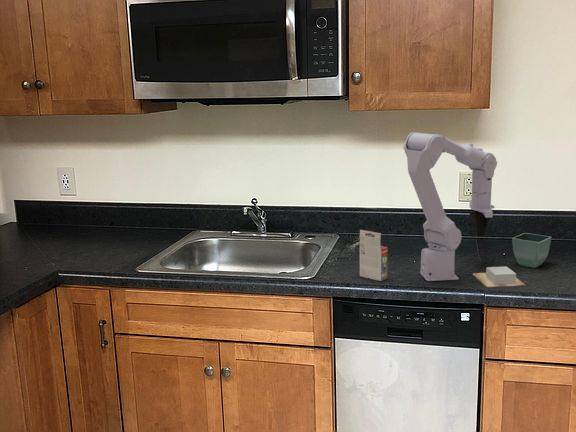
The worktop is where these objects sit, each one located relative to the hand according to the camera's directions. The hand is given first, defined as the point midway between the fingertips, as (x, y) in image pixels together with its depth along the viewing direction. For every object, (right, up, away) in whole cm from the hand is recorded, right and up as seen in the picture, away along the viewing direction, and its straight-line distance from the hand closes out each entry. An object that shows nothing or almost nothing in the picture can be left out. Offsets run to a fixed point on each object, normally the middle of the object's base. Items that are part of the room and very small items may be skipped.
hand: (479, 235), depth 201 cm
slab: (+2, -10, -9) cm, 14 cm away
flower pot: (+16, -9, +2) cm, 19 cm away
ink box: (-33, -13, -6) cm, 36 cm away
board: (+2, -13, -11) cm, 17 cm away
